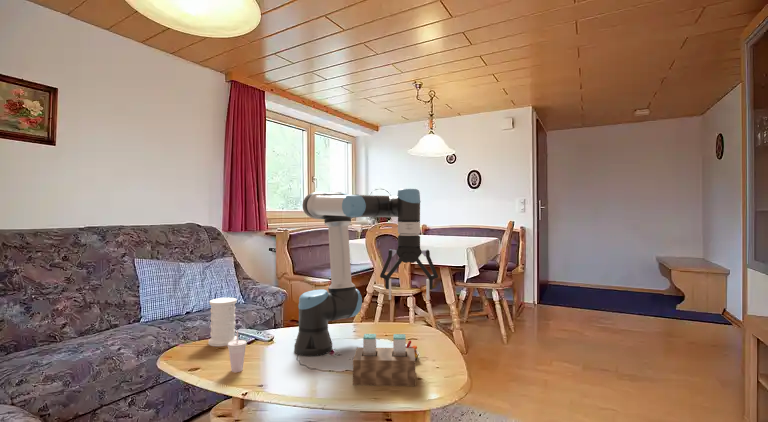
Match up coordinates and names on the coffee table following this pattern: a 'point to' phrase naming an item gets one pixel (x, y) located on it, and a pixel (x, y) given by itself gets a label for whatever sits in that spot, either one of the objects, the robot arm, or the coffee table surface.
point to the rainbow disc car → (412, 347)
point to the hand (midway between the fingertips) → (408, 299)
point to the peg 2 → (399, 345)
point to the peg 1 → (369, 345)
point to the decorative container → (222, 321)
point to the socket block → (384, 368)
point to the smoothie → (237, 354)
